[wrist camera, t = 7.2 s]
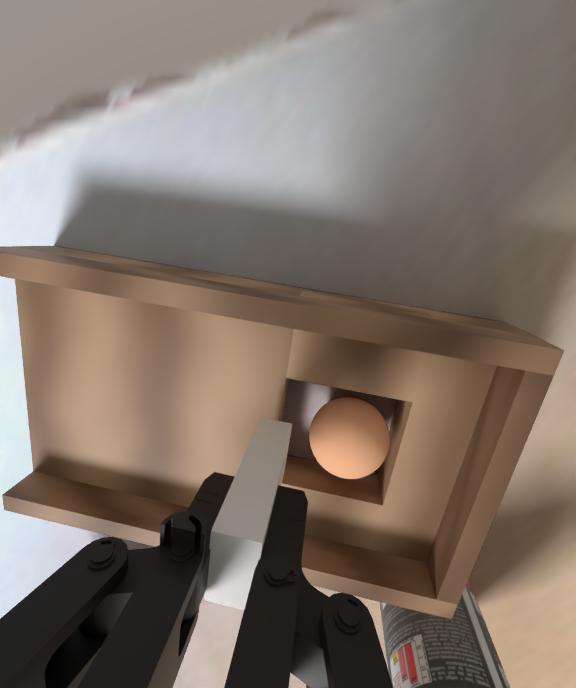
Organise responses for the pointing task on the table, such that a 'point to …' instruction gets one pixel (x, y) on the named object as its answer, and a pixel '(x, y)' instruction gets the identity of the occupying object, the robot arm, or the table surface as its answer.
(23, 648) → the robot arm
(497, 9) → the table surface
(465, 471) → the lane
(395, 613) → the pill bottle
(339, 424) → the ball
